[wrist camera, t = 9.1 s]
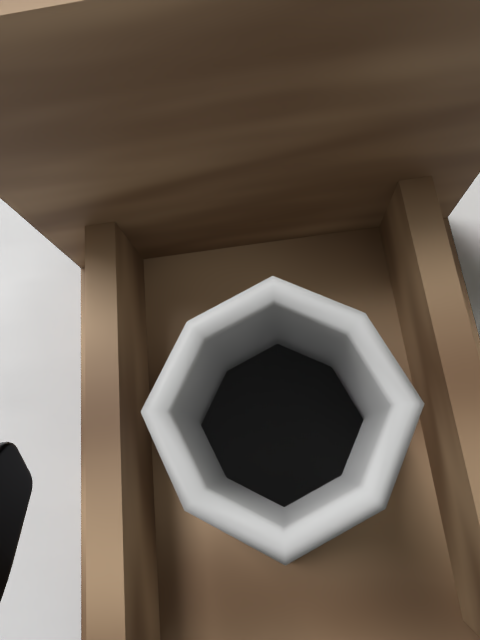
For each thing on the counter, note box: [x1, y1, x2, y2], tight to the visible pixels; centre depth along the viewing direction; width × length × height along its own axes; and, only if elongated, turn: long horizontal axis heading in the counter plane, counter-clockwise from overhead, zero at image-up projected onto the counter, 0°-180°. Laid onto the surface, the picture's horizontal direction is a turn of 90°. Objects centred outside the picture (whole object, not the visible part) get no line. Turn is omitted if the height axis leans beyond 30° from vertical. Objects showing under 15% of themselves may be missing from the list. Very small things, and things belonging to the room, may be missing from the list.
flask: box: [141, 276, 425, 566], centre depth 10 cm, size 7×7×10 cm
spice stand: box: [0, 0, 480, 640], centre depth 11 cm, size 15×14×12 cm
